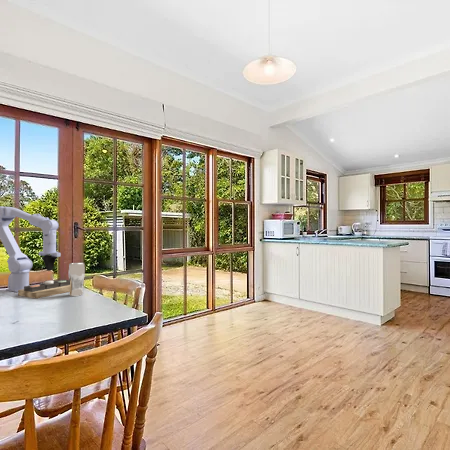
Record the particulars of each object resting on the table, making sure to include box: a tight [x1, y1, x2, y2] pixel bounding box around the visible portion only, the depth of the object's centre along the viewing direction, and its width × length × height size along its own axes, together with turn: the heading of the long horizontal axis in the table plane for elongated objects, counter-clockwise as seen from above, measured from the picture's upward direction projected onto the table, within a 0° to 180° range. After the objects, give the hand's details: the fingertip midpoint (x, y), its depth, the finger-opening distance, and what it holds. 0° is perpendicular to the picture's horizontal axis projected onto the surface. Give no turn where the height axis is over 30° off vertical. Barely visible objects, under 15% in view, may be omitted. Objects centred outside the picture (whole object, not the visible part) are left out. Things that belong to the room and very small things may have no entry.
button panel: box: [17, 279, 70, 299], centre depth 151 cm, size 14×21×4 cm, turn 154°
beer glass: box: [68, 262, 86, 297], centre depth 147 cm, size 7×7×15 cm
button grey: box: [43, 280, 54, 285], centre depth 152 cm, size 4×4×2 cm
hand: (49, 270), depth 156 cm, fingers closed
